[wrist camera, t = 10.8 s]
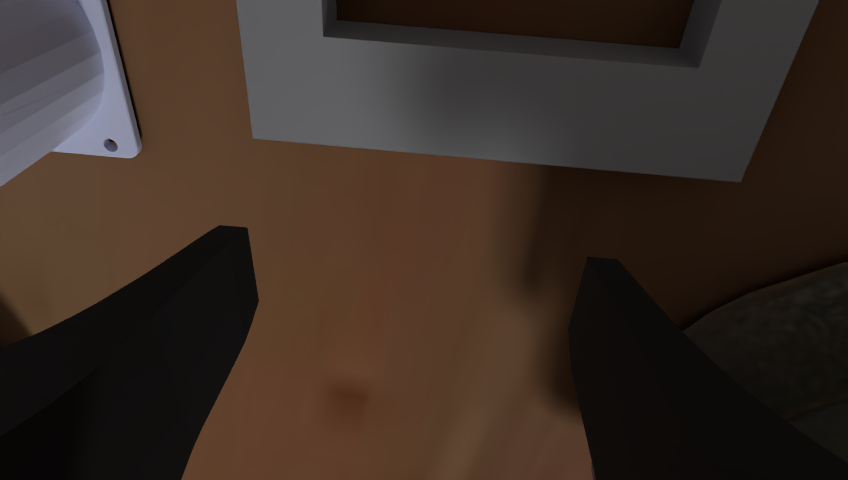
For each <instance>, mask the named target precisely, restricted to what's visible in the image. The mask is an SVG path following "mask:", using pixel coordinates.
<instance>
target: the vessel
mask: <svg viewBox="0 0 848 480" xmlns="http://www.w3.org/2000/svg"><path fill="white" fill-rule="evenodd" d="M682 332H683V333H684V334H685V335H686V336H687V337H688V338H689V339H690V340H691V341H692V342H693V343H694V344H695V345H696V346H697V347H699V348H700V349H701V350H702V351H703V352H704V353H705V354H706V355H707V356H708V357H709V358H710V359H711V360H712V361H713V362H714V363H715V364H716V365H718V366H719V367H720V368H721V369H722V370H723V371H724V372H725V373H727V374H728V375H729V376H730V377H731V378H732V379H734V380H735V381H736V382H737V383H738V384H740V385H741V386H742V387H743V388H745V389H746V390H747V391H748V392H749V393H751V394H752V395H753V396H754V397H755V398H757V399H758V400H759V401H760V402H762V403H763V404H764V405H766V406H767V407H768V408H769V409H771V410H772V411H773V412H775V413H776V414H777V415H779V416H780V417H781V418H783V419H784V420H786V421H787V422H788V423H790V424H791V425H793V426H794V427H795V428H797V429H798V430H800V431H801V432H802V433H804V434H805V435H807V436H808V437H809V438H811V439H812V440H814V441H815V442H817V443H818V444H820V445H821V446H823V447H824V448H826V449H827V450H829V451H830V452H832V453H833V454H835V455H836V456H838V457H839V458H841V459H842V460H844V461H846V462H847V463H848V262H845V263H840V264H836V265H833V266H830V267H827V268H824V269H821V270H818V271H815V272H812V273H809V274H805V275H802V276H799V277H796V278H793V279H790V280H787V281H784V282H781V283H778V284H774V285H771V286H768V287H765V288H762V289H759V290H756V291H753V292H750V293H747V294H745V295H744V296H742V297H740V298H738V299H736V300H734V301H732V302H730V303H728V304H726V305H724V306H722V307H720V308H718V309H716V310H714V311H712V312H710V313H708V314H707V315H706V316H704V317H703V318H701V319H700V320H698V321H697V322H696V323H694V324H693V325H691V326H690V327H688V328H687V329H685V330H683V331H682ZM591 470H592V475H593V480H596V479H595V474H594V468H593V463H592V469H591Z"/></svg>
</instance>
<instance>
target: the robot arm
mask: <svg viewBox="0 0 848 480" xmlns="http://www.w3.org/2000/svg"><path fill="white" fill-rule="evenodd" d="M109 139H111V140H113V141H114V142H116V144H117V146H118V147H115V146H113V145H112V144H111V143H110V141H109ZM141 149H142V144H141V140H140V136H139V131H138V127H137V123H136V119H135V115H134V111H133V107H132V103H131V99H130V95H129V91H128V87H127V83H126V79H125V74H124V70H123V66H122V62H121V58H120V54H119V50H118V46H117V42H116V38H115V34H114V30H113V26H112V22H111V17H110V13H109V9H108V5H107V1H106V0H0V187H1V186H2V185H3V184H5V183H6V182H8V181H9V180H11V179H12V178H13V177H15V176H16V175H18V174H19V173H21V172H22V171H23V170H25V169H26V168H28V167H29V166H30V165H32V164H33V163H35V162H36V161H38V160H39V159H40V158H42V157H43V156H45V155H46V154H47V153H49V152H50V151H55V152H66V153H77V154H88V155H98V156H109V157H120V158H133V157H134V156H136V155H137V154H138V153H139V152H140V151H141ZM258 302H259V299H258V293H257V286H256V280H255V273H254V267H253V261H252V254H251V248H250V241H249V235H248V228H245V227H234V226H222V225H219V226H217V227H216V228H214V229H212V230H211V231H209V232H208V233H206V234H204V235H203V236H201V237H200V238H198V239H197V240H195V241H194V242H192V243H191V244H189V245H188V246H187V247H185V248H184V249H182V250H181V251H179V252H178V253H176V254H175V255H173V256H172V257H170V258H169V259H167V260H166V261H164V262H163V263H161V264H160V265H158V266H157V267H155V268H154V269H152V270H150V271H149V272H147V273H146V274H144V275H143V276H141V277H140V278H138V279H136V280H135V281H133V282H131V283H130V284H128V285H126V286H125V287H123V288H121V289H120V290H118V291H116V292H115V293H113V294H111V295H110V296H108V297H106V298H105V299H103V300H101V301H100V302H98V303H96V304H94V305H93V306H91V307H89V308H87V309H85V310H83V311H82V312H80V313H78V314H76V315H74V316H72V317H70V318H68V319H66V320H64V321H62V322H60V323H58V324H56V325H54V326H52V327H50V328H48V329H46V330H44V331H42V332H40V333H37V334H35V335H33V336H31V337H28V338H26V339H24V340H21V341H19V342H17V343H14V344H12V345H10V346H7V347H5V348H3V349H0V480H181V478H182V476H183V473H184V471H185V468H186V465H187V463H188V460H189V457H190V455H191V452H192V449H193V447H194V445H195V442H196V440H197V438H198V436H199V434H200V431H201V429H202V427H203V425H204V423H205V421H206V419H207V417H208V415H209V413H210V411H211V409H212V407H213V405H214V403H215V401H216V399H217V397H218V395H219V393H220V391H221V389H222V387H223V385H224V383H225V381H226V379H227V377H228V375H229V373H230V372H231V369H232V367H233V365H234V363H235V361H236V359H237V357H238V355H239V353H240V351H241V349H242V347H243V345H244V343H245V341H246V338H247V335H248V332H249V329H250V327H251V324H252V321H253V317H254V314H255V311H256V308H257V305H258ZM568 331H569V344H570V356H571V366H572V374H573V379H574V383H575V388H576V392H577V397H578V401H579V406H580V410H581V415H582V419H583V424H584V428H585V432H586V437H587V441H588V446H589V450H590V455H591V459H592V463H593V468H594V474H595V479H596V480H848V463H847V462H846V461H844V460H842V459H841V458H839V457H838V456H836V455H835V454H833V453H832V452H830V451H829V450H827V449H826V448H824V447H823V446H821V445H820V444H818V443H817V442H815V441H814V440H812V439H811V438H809V437H808V436H807V435H805V434H804V433H802V432H801V431H800V430H798V429H797V428H795V427H794V426H793V425H791V424H790V423H788V422H787V421H786V420H784V419H783V418H781V417H780V416H779V415H777V414H776V413H775V412H773V411H772V410H771V409H769V408H768V407H767V406H766V405H764V404H763V403H762V402H760V401H759V400H758V399H757V398H755V397H754V396H753V395H752V394H751V393H749V392H748V391H747V390H746V389H745V388H743V387H742V386H741V385H740V384H738V383H737V382H736V381H735V380H734V379H732V378H731V377H730V376H729V375H728V374H727V373H725V372H724V371H723V370H722V369H721V368H720V367H719V366H718V365H716V364H715V363H714V362H713V361H712V360H711V359H710V358H709V357H708V356H707V355H706V354H705V353H704V352H703V351H702V350H701V349H700V348H699V347H697V346H696V345H695V344H694V343H693V342H692V341H691V340H690V339H689V338H688V337H687V336H686V335H685V334H684V333H683V332H682V331H681V330H680V329H679V328H678V326H677V325H676V324H675V323H674V322H673V321H672V320H671V319H670V318H669V317H668V316H667V315H666V314H665V313H664V312H663V310H662V309H661V308H660V307H659V306H658V305H657V304H656V303H655V302H654V301H653V299H652V298H651V297H650V296H649V295H648V294H647V293H646V291H645V290H644V289H643V288H642V287H641V286H640V285H639V283H638V282H637V281H636V280H635V279H634V278H633V277H632V275H631V274H630V273H629V272H628V271H627V270H626V269H625V267H624V266H623V265H622V264H621V263H620V262H619V261H618V260H617V259H607V258H595V257H587V261H586V264H585V268H584V272H583V276H582V280H581V283H580V287H579V291H578V295H577V298H576V302H575V306H574V310H573V313H572V317H571V321H570V325H569V329H568Z"/></svg>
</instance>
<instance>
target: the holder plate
mask: <svg viewBox="0 0 848 480" xmlns="http://www.w3.org/2000/svg"><path fill="white" fill-rule="evenodd" d="M818 2H819V0H694V2H693V5H692V8H691V12H690V15H689V18H688V21H687V24H686V27H685V31H684V34H683V37H682V40H681V43H680V47H679V49H678V48H666V47H654V46H642V45H630V44H618V43H606V42H594V41H582V40H570V39H558V38H546V37H534V36H522V35H510V34H498V33H486V32H474V31H462V30H450V29H438V28H426V27H414V26H402V25H390V24H378V23H366V22H354V21H342V20H337V4H336V0H236V3H237V11H238V20H239V28H240V36H241V44H242V52H243V61H244V69H245V77H246V85H247V93H248V102H249V110H250V118H251V126H252V134H253V138H254V139H265V140H277V141H288V142H299V143H310V144H321V145H332V146H343V147H354V148H365V149H376V150H387V151H398V152H409V153H421V154H432V155H443V156H454V157H465V158H476V159H487V160H498V161H509V162H520V163H531V164H542V165H553V166H565V167H576V168H587V169H598V170H609V171H620V172H631V173H642V174H653V175H664V176H675V177H686V178H697V179H709V180H720V181H731V182H741V180H742V178H743V176H744V173H745V171H746V169H747V166H748V164H749V162H750V159H751V157H752V155H753V152H754V150H755V148H756V145H757V143H758V141H759V138H760V136H761V134H762V132H763V129H764V127H765V125H766V122H767V120H768V118H769V115H770V113H771V111H772V108H773V106H774V104H775V101H776V99H777V97H778V95H779V92H780V90H781V88H782V85H783V83H784V81H785V78H786V76H787V74H788V71H789V69H790V67H791V64H792V62H793V60H794V57H795V55H796V53H797V51H798V48H799V46H800V44H801V41H802V39H803V37H804V34H805V32H806V30H807V27H808V25H809V23H810V20H811V18H812V16H813V14H814V11H815V9H816V7H817V4H818Z"/></svg>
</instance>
